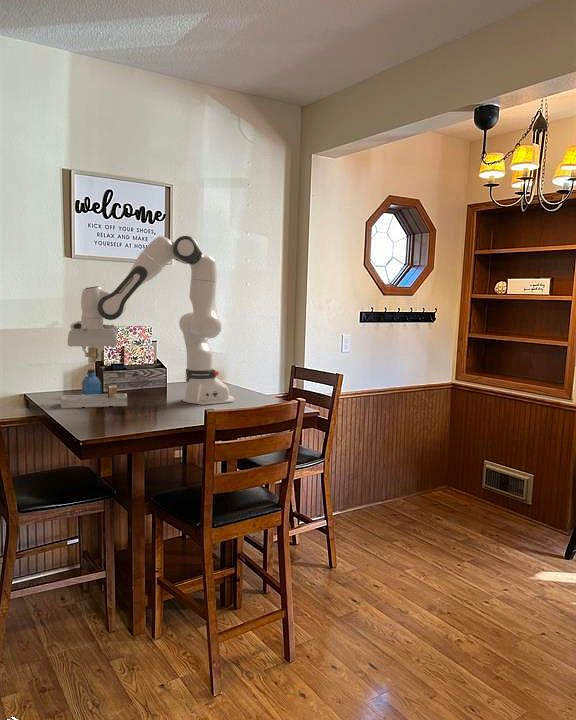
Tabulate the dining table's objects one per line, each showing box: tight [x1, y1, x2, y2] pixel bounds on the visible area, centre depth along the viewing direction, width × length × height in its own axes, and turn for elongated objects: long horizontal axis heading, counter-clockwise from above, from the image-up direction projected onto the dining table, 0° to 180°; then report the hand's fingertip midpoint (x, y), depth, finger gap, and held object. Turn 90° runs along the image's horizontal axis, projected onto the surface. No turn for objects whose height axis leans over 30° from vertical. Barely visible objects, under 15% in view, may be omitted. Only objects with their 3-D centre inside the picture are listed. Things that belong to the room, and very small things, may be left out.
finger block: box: [87, 346, 99, 364], centre depth 247 cm, size 4×5×6 cm
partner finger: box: [107, 384, 118, 398], centre depth 243 cm, size 4×5×6 cm
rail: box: [60, 393, 128, 409], centre depth 241 cm, size 26×10×4 cm, turn 107°
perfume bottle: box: [81, 368, 102, 395], centre depth 258 cm, size 6×6×12 cm
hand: (93, 356), depth 247 cm, fingers closed on finger block, 3 cm apart
